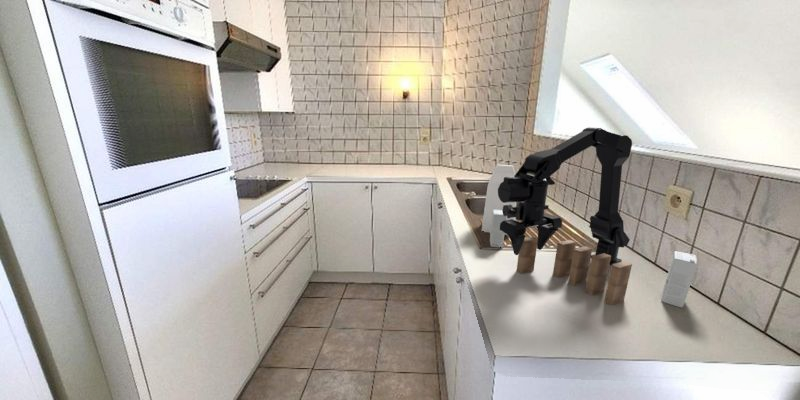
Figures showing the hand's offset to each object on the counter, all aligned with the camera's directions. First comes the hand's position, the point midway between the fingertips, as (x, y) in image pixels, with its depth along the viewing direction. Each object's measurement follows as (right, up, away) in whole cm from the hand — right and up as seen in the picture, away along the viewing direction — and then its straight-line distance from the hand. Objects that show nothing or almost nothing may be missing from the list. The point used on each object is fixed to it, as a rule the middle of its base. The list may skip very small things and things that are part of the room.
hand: (527, 251), depth 92 cm
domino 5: (+16, -10, -13) cm, 23 cm away
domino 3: (+12, -8, -5) cm, 15 cm away
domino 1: (0, -6, +1) cm, 6 cm away
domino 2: (+10, -6, 0) cm, 12 cm away
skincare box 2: (+31, -10, -13) cm, 35 cm away
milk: (+3, +3, +36) cm, 36 cm away
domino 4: (+14, -9, -9) cm, 19 cm away
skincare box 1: (-3, -1, +21) cm, 21 cm away
